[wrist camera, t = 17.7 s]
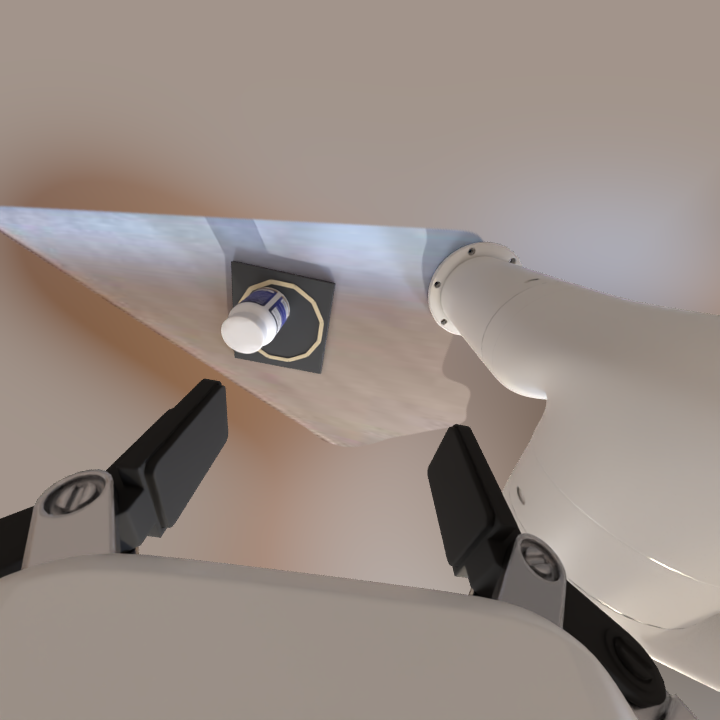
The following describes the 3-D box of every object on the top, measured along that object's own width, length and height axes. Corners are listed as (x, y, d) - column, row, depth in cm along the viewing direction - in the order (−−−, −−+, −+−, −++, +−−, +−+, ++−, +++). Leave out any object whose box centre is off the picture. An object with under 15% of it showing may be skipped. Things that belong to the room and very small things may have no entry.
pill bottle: (243, 308, 37) (207, 338, 29) (262, 277, 35) (228, 299, 26) (278, 332, 39) (253, 366, 30) (298, 303, 37) (277, 332, 28)
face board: (335, 283, 36) (334, 284, 35) (321, 372, 43) (320, 374, 42) (233, 260, 34) (230, 261, 34) (236, 356, 42) (234, 358, 41)
